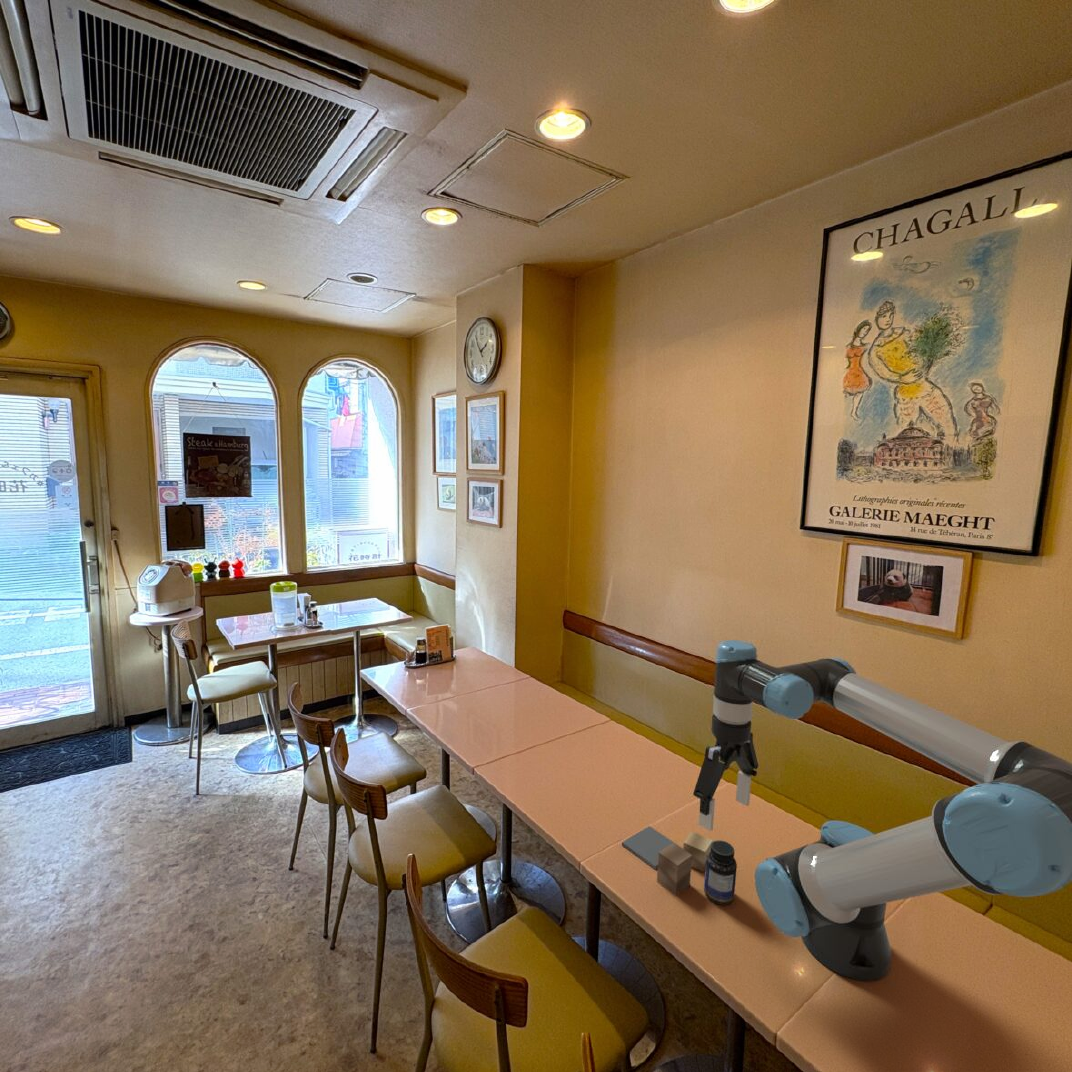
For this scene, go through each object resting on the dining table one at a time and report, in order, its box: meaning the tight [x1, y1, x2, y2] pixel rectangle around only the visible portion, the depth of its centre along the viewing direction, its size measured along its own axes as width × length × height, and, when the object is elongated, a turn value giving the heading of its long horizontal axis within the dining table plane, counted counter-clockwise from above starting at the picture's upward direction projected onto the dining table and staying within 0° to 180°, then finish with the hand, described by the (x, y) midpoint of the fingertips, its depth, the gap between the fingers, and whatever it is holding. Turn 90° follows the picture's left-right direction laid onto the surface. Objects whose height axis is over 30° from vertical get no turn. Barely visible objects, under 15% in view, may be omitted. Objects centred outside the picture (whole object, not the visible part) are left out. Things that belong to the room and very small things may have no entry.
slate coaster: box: [621, 825, 683, 870], centre depth 134 cm, size 10×10×1 cm
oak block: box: [682, 831, 714, 872], centre depth 130 cm, size 5×5×5 cm
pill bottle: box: [703, 839, 738, 906], centre depth 119 cm, size 6×6×11 cm
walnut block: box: [656, 842, 692, 896], centre depth 123 cm, size 5×5×7 cm
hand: (724, 814), depth 117 cm, fingers open, 13 cm apart
